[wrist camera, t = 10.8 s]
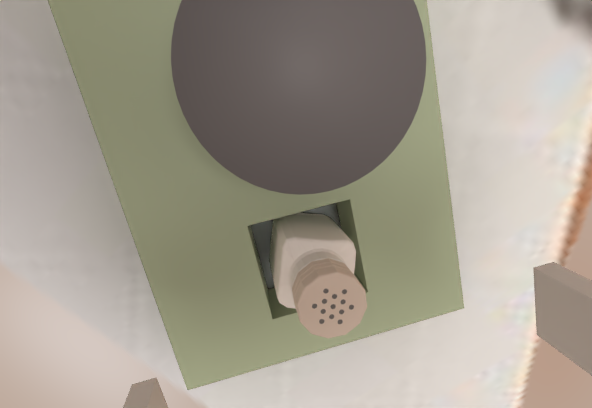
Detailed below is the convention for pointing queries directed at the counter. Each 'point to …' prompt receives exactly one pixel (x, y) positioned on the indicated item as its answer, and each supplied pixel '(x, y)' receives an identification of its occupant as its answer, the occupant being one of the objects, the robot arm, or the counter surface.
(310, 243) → the pepper shaker
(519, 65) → the counter surface
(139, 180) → the green knob base
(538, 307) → the robot arm
